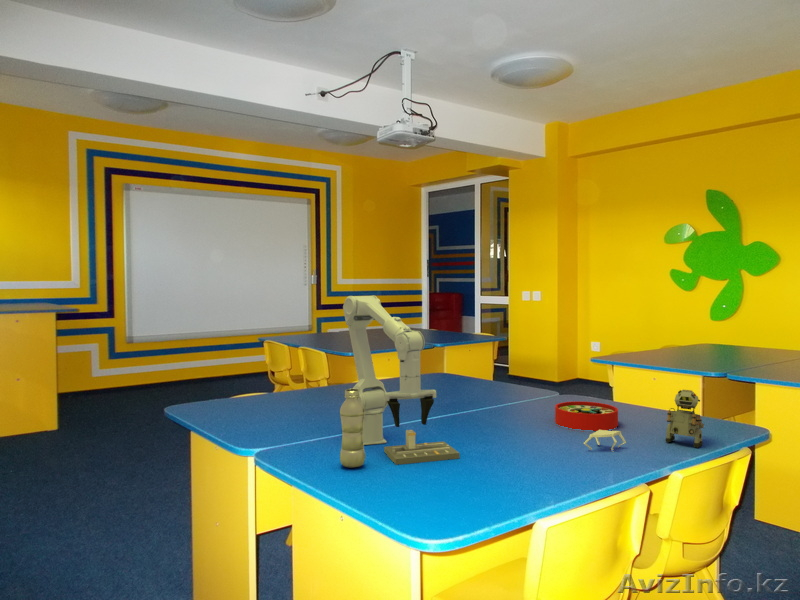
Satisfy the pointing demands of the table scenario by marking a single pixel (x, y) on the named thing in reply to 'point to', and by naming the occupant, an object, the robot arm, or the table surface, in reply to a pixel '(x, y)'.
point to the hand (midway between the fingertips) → (410, 425)
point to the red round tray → (586, 415)
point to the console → (422, 453)
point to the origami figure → (605, 434)
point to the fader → (410, 441)
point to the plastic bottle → (352, 430)
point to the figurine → (685, 418)
